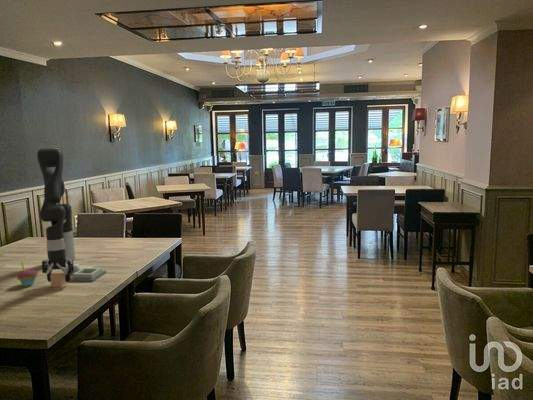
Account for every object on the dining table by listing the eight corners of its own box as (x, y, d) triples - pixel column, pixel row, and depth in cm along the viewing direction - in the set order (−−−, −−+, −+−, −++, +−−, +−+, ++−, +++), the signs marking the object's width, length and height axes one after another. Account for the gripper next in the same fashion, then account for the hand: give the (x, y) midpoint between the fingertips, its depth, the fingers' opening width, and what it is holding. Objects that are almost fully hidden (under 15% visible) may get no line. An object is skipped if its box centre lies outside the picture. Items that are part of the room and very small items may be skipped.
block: (51, 286, 188) (50, 274, 187) (57, 283, 193) (56, 271, 192) (61, 286, 188) (60, 274, 187) (67, 283, 193) (66, 271, 192)
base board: (57, 281, 195) (56, 271, 195) (72, 272, 209) (71, 263, 208) (92, 281, 194) (91, 271, 193) (106, 272, 208) (105, 263, 207)
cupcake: (23, 288, 186) (20, 263, 185) (14, 285, 191) (11, 261, 189) (42, 283, 193) (39, 259, 192) (32, 280, 198) (30, 256, 196)
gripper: (36, 250, 185) (39, 284, 187) (66, 250, 184) (69, 284, 186) (46, 246, 192) (49, 278, 194) (75, 246, 191) (77, 278, 193)
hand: (59, 281), depth 190 cm, fingers open, 8 cm apart
